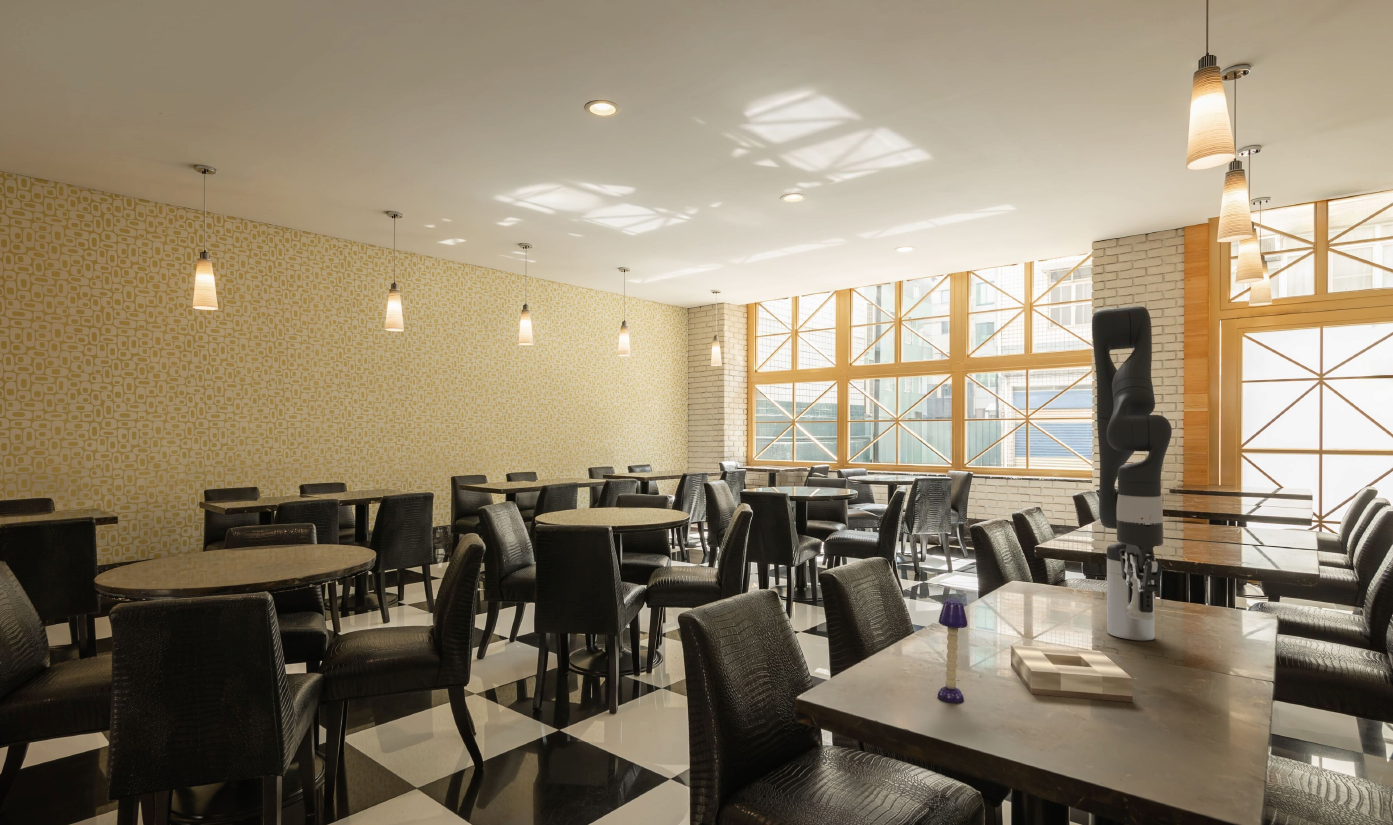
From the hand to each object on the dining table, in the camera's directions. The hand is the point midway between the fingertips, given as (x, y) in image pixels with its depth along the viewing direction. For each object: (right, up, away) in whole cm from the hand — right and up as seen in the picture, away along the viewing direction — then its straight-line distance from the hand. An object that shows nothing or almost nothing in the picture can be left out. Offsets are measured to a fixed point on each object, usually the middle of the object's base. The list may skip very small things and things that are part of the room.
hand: (1140, 608), depth 136 cm
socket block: (-17, -12, -5) cm, 21 cm away
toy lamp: (-41, -12, -15) cm, 45 cm away
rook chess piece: (0, -2, 0) cm, 2 cm away
